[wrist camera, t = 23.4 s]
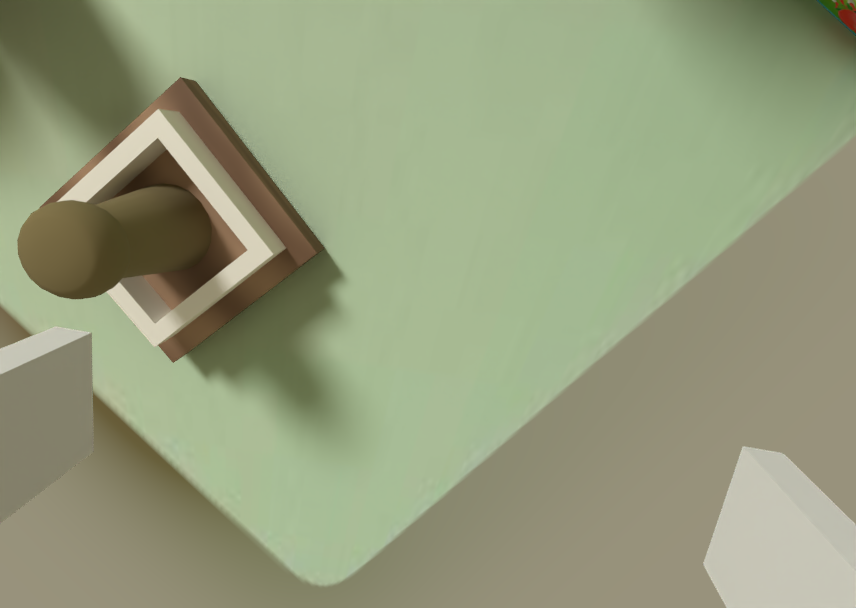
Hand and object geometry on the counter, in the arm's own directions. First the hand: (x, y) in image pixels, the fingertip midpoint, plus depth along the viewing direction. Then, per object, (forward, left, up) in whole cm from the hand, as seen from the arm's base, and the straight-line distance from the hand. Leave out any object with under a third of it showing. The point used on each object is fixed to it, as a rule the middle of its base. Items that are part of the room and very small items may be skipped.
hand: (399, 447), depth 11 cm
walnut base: (+15, -12, -29) cm, 35 cm away
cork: (+15, -12, -27) cm, 33 cm away
